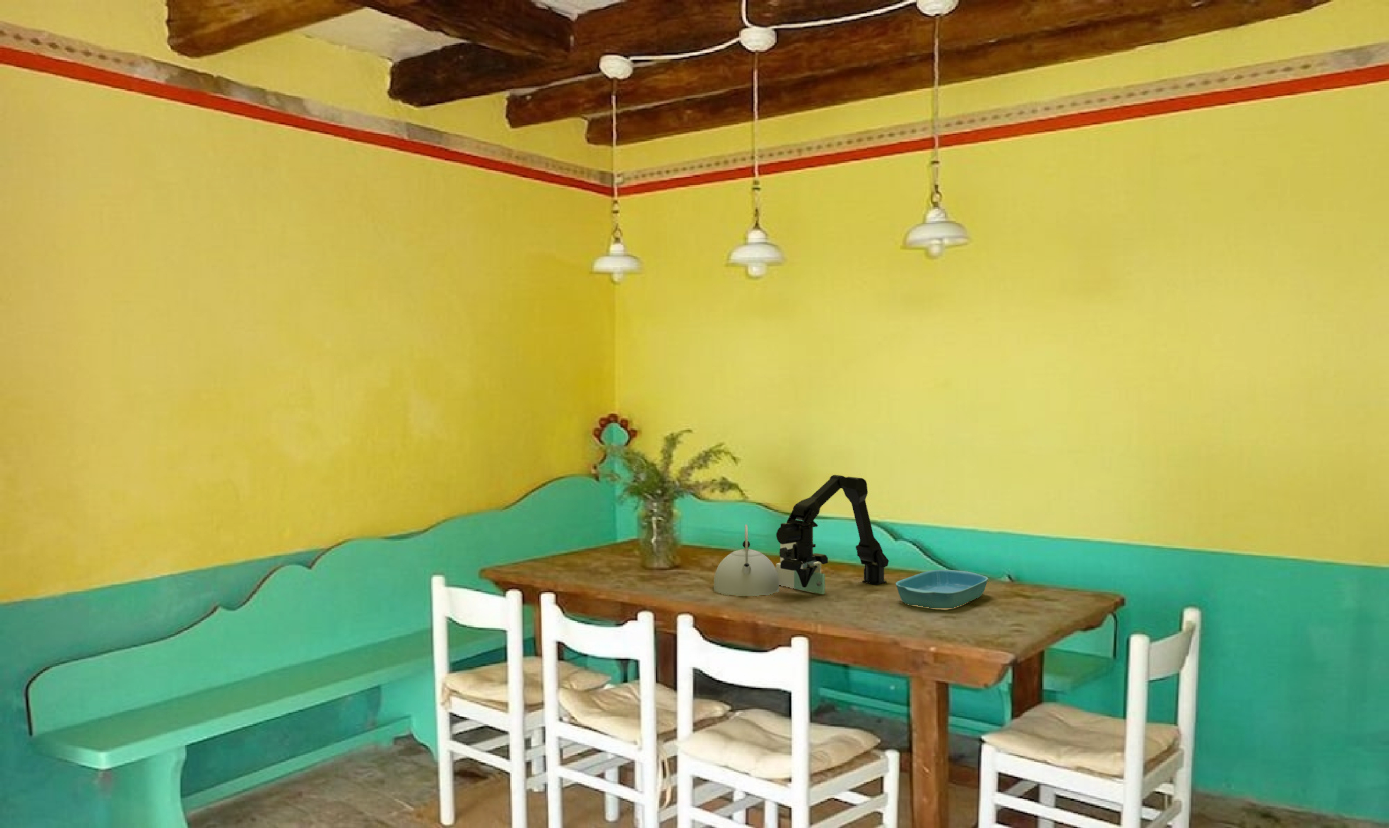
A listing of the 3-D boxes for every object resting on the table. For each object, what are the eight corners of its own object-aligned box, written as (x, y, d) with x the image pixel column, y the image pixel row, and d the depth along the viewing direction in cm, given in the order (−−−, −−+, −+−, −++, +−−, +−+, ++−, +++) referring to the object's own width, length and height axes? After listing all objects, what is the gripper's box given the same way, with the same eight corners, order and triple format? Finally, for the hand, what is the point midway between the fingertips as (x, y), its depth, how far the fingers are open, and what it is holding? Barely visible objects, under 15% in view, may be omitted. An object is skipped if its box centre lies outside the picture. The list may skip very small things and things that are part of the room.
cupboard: (821, 583, 355) (821, 561, 354) (795, 589, 345) (795, 567, 344) (801, 579, 361) (801, 558, 361) (775, 585, 351) (775, 563, 351)
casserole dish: (949, 616, 306) (949, 593, 306) (884, 606, 321) (884, 584, 320) (997, 596, 335) (998, 575, 334) (936, 587, 349) (936, 566, 349)
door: (791, 589, 343) (791, 569, 342) (796, 588, 344) (796, 568, 344) (820, 594, 334) (820, 574, 334) (824, 593, 336) (824, 573, 335)
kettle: (781, 598, 331) (781, 531, 330) (712, 598, 332) (712, 531, 331) (777, 583, 356) (777, 520, 355) (714, 582, 357) (714, 520, 356)
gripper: (803, 535, 346) (803, 579, 346) (767, 541, 333) (767, 587, 333) (828, 538, 338) (828, 584, 339) (793, 545, 325) (793, 593, 325)
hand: (804, 587), depth 334 cm, fingers closed
